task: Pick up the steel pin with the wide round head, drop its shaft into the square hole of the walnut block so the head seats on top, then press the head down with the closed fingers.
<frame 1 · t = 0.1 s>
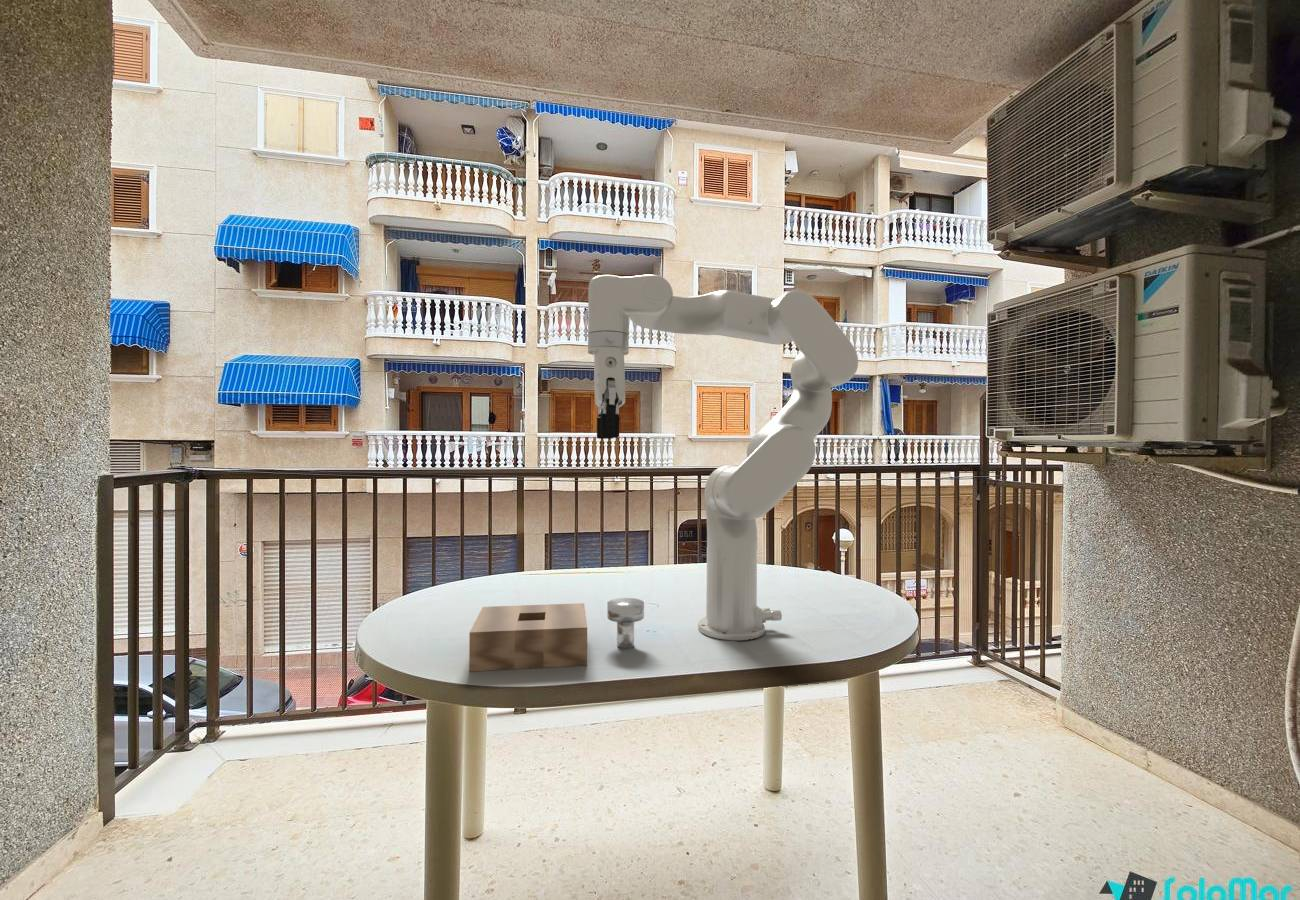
hand: (607, 437, 102), 36 cm above the table, tool pointing down, fingers open, 9 cm apart
steel pin: (625, 645, 97), on the table
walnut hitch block: (531, 652, 93), on the table
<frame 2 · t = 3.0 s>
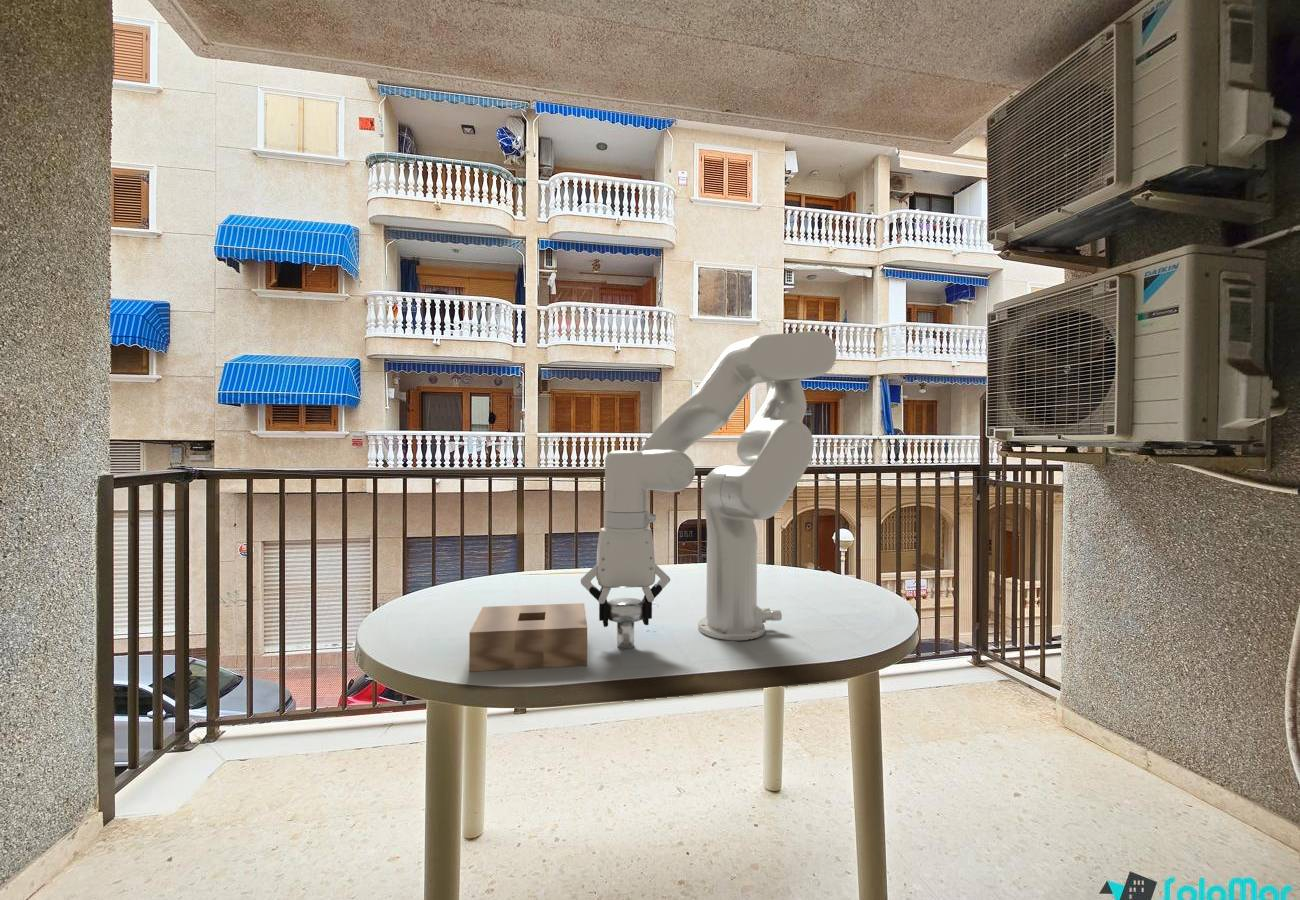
hand: (625, 622, 97), 4 cm above the table, tool pointing down, fingers closed on steel pin, 6 cm apart
steel pin: (625, 645, 97), on the table, touching gripper
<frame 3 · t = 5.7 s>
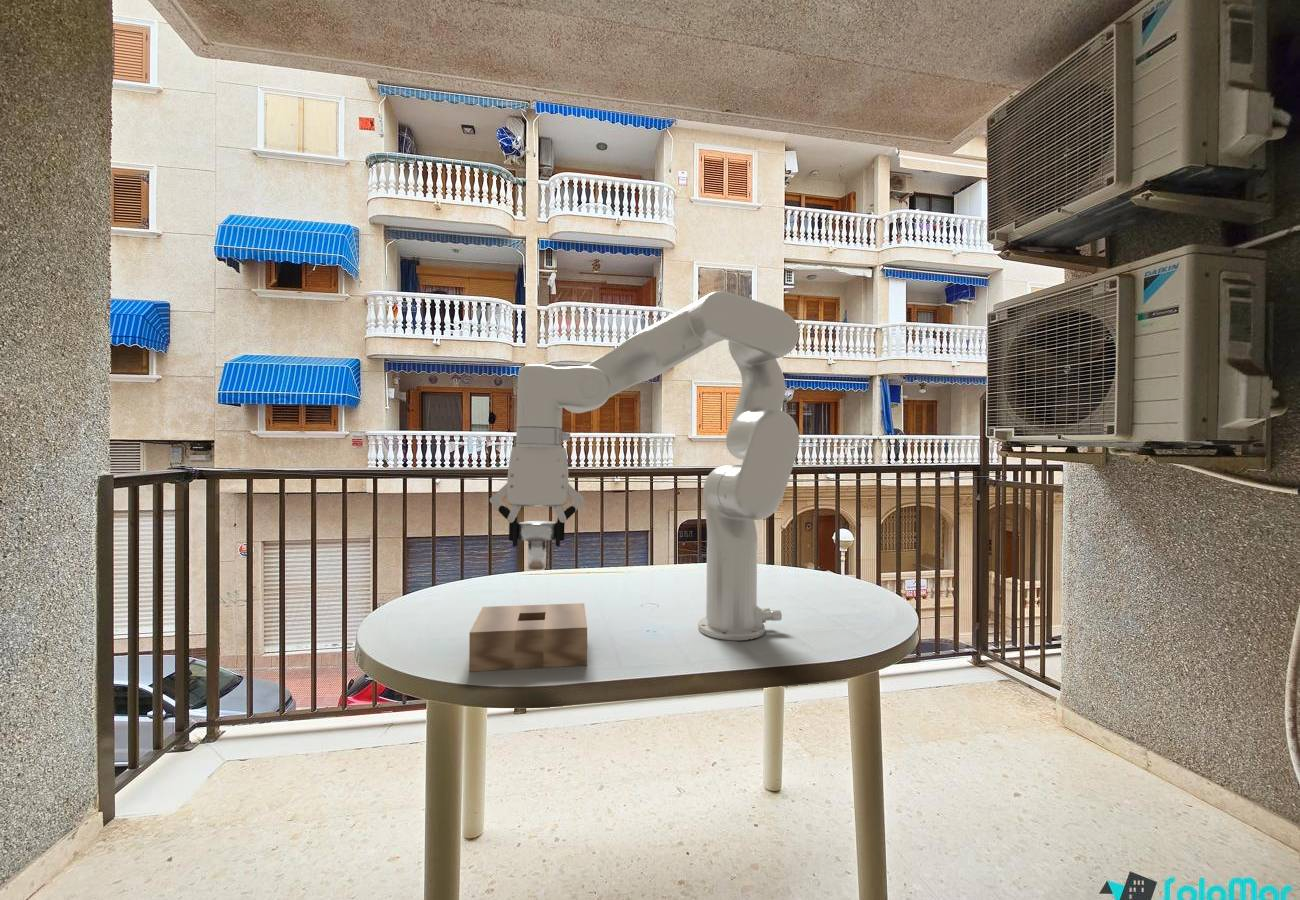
hand: (536, 544, 94), 18 cm above the table, tool pointing down, fingers closed on steel pin, 6 cm apart
steel pin: (536, 567, 94), point 14 cm above the table, touching gripper
when the fingers open (7 cm above the table, at t = 8.4 s): steel pin drops 2 cm, resting on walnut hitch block.
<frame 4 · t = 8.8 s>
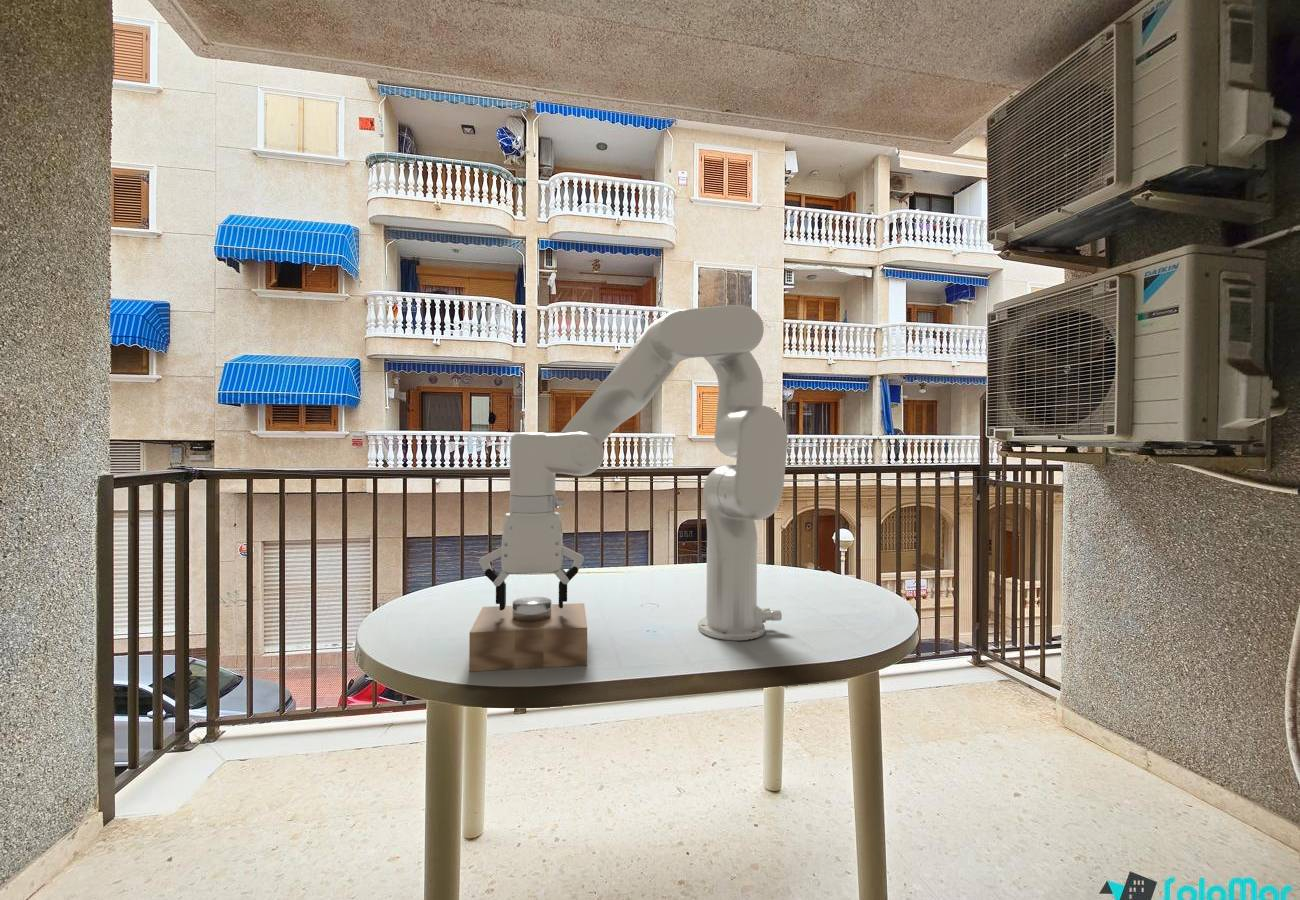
hand: (532, 607, 93), 8 cm above the table, tool pointing down, fingers open, 9 cm apart
steel pin: (531, 646, 93), point 1 cm above the table, touching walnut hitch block
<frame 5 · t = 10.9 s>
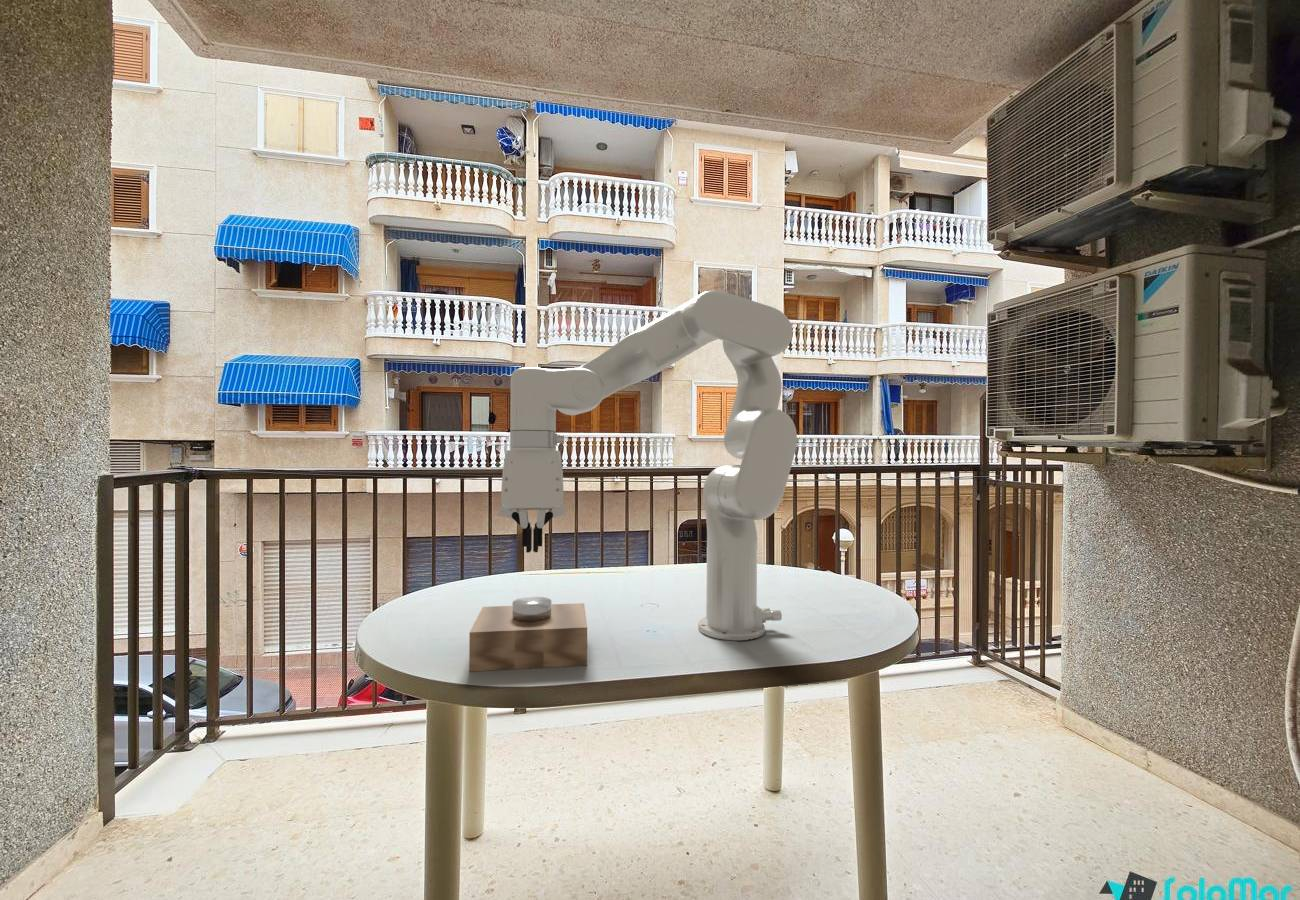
hand: (532, 550, 93), 17 cm above the table, tool pointing down, fingers closed
nothing on the table moved.
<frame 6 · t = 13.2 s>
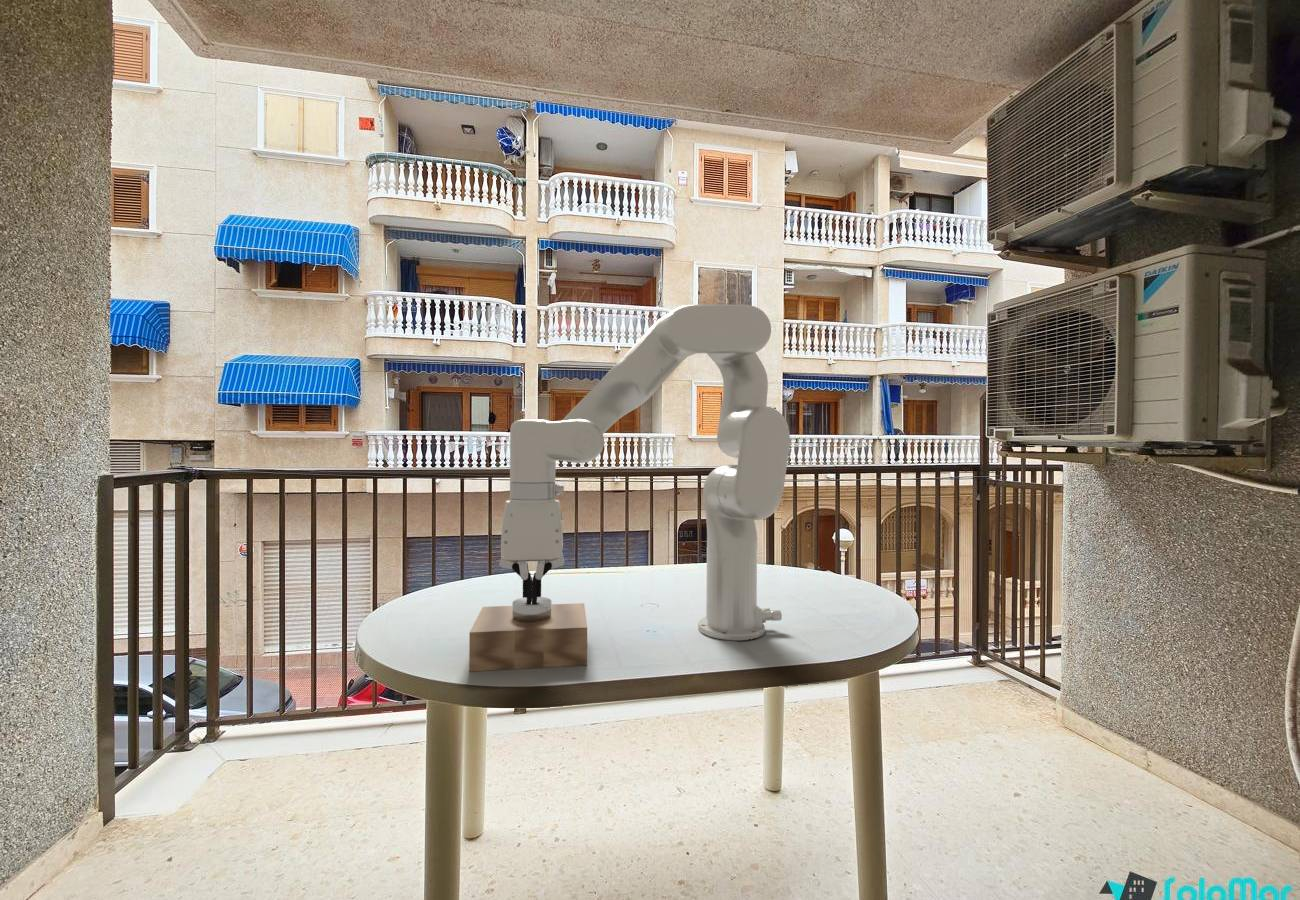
hand: (531, 601, 93), 9 cm above the table, tool pointing down, fingers closed
steel pin: (531, 646, 93), point 1 cm above the table, touching gripper, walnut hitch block
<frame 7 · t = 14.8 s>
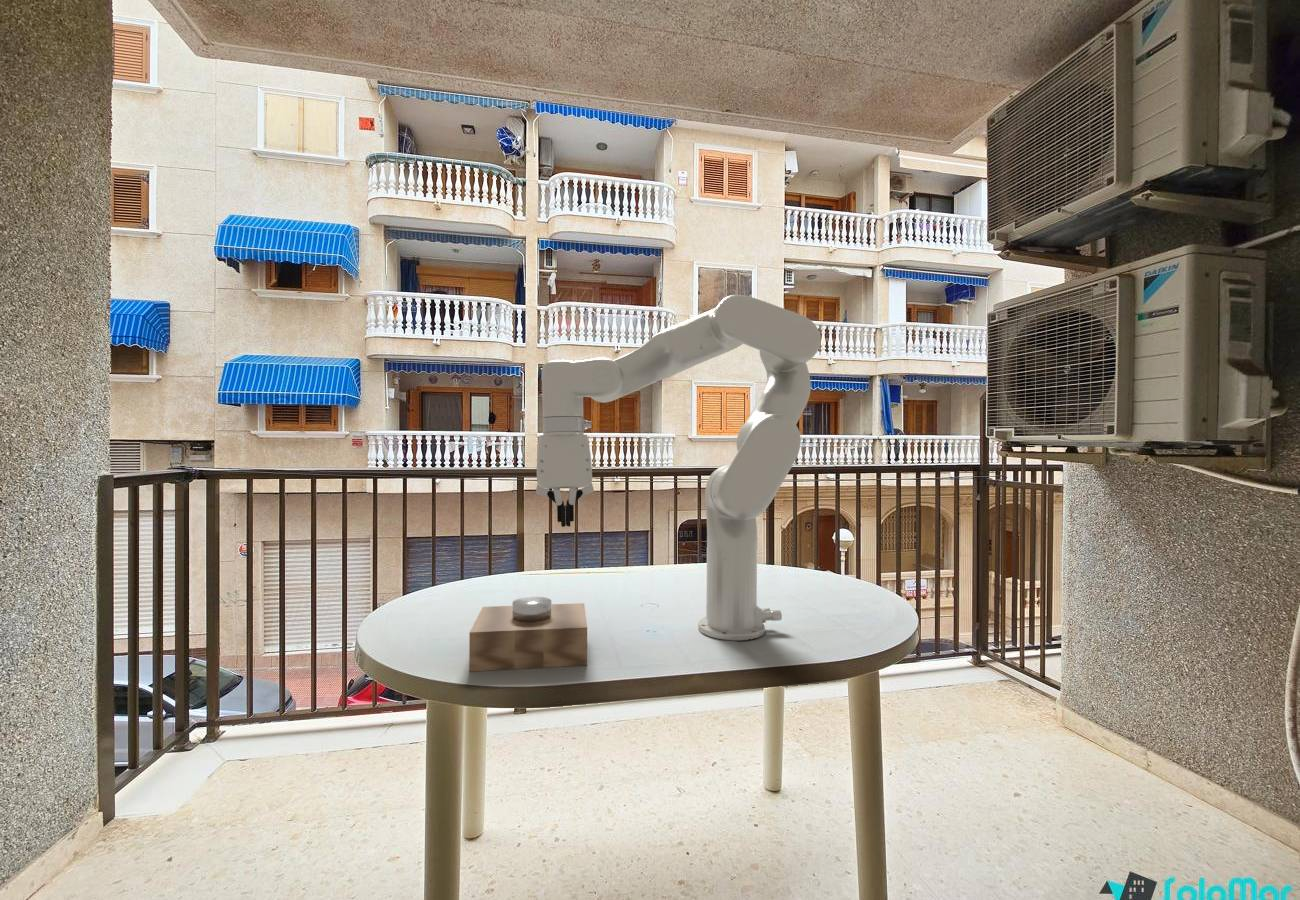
hand: (565, 525, 104), 20 cm above the table, tool pointing down, fingers closed
steel pin: (531, 646, 93), point 1 cm above the table, touching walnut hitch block
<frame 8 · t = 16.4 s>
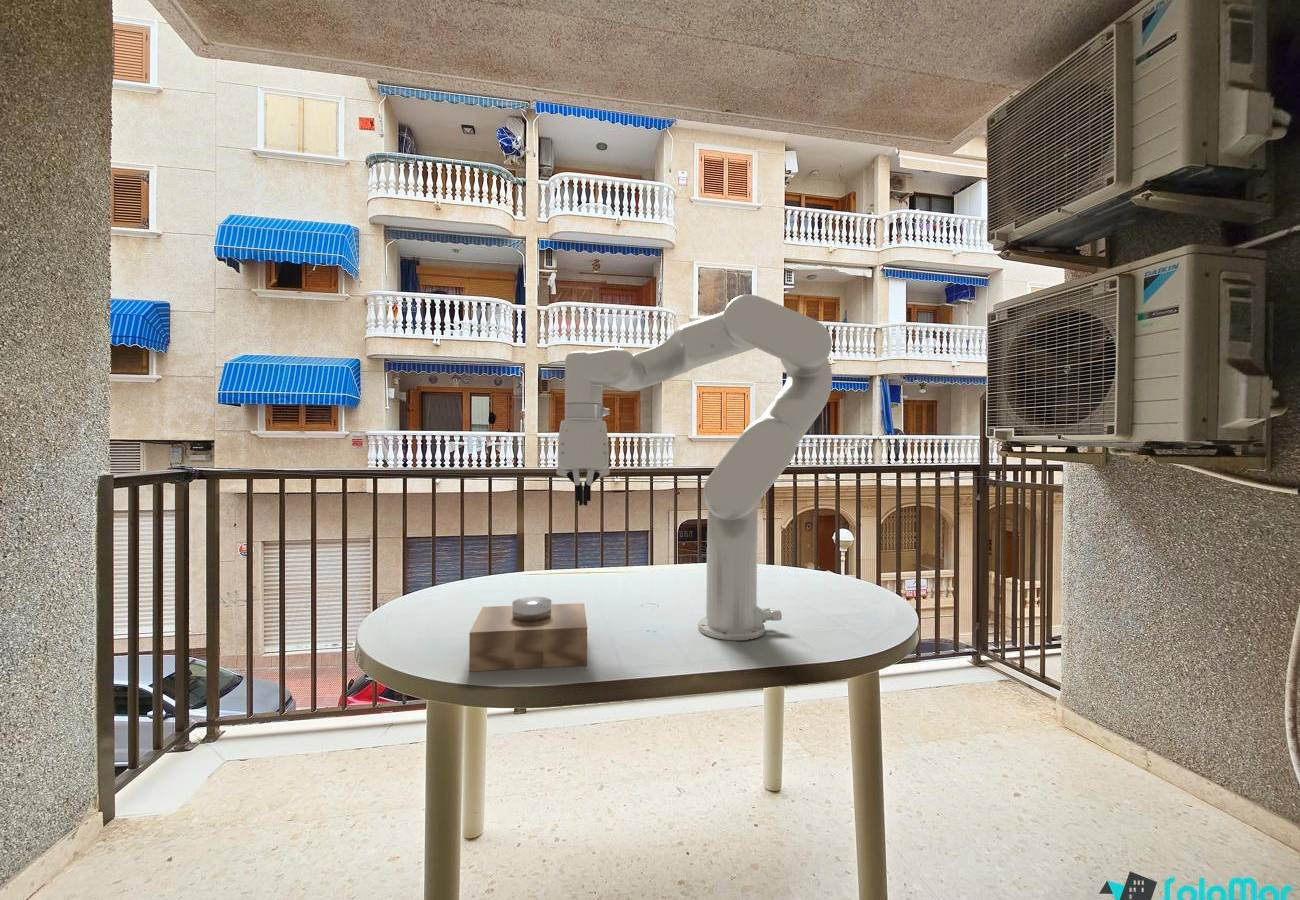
hand: (583, 504, 112), 23 cm above the table, tool pointing down, fingers closed
nothing on the table moved.
at the end: steel pin 0.0 cm off-centre on the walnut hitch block, point 1.0 cm above the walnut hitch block's base; steel pin tilted 0°; the gripper is holding nothing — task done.
